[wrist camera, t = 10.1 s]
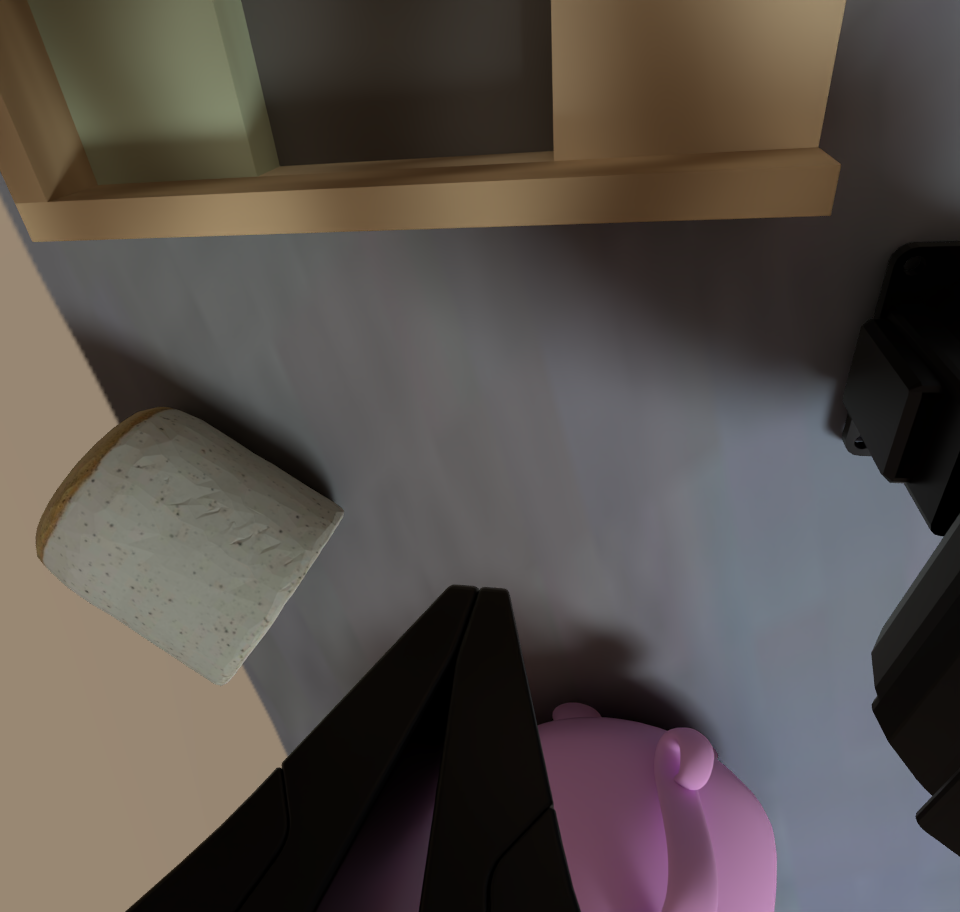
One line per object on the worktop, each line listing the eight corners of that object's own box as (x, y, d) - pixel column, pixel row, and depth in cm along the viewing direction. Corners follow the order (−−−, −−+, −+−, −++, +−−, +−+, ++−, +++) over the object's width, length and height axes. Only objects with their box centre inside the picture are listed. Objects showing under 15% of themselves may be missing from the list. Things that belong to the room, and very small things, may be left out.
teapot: (660, 889, 40) (670, 1180, 30) (438, 817, 40) (375, 1083, 30) (846, 711, 28) (963, 1095, 18) (530, 611, 28) (476, 936, 18)
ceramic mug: (179, 357, 24) (20, 483, 18) (369, 475, 26) (283, 629, 19) (118, 520, 30) (-15, 655, 24) (274, 608, 32) (186, 756, 25)
